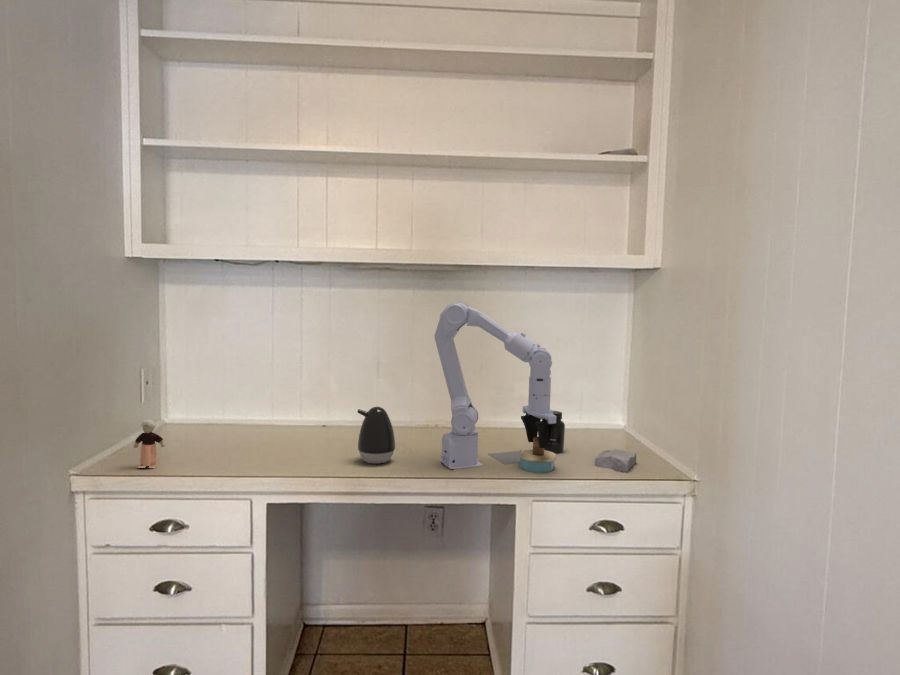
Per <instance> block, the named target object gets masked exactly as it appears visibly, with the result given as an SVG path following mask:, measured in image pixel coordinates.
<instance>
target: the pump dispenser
mask: <svg viewBox="0 0 900 675" xmlns="http://www.w3.org/2000/svg"><path fill="white" fill-rule="evenodd" d="M357 413H358V414H360V415H362V416H363V417H364V419H363V420H362V423H361V426H360V430H359V433H358V440H357V450H358V453H359V456H360V457H361V459H362V460H363V461H364V462H365V463H368V464H372V465H380V464H381V463H382V464H384V463H386V462H388V461H390V459H392V458H393V455H394V451H395V450H396V439H395V432H394V427H393V424H392V422H391V419H390V417H389V414H388V412H387V411H386V410H385V409H384V408H383V407H381V406H373V407H371V408H370V409H368V411H366V410H362V409H357Z"/></svg>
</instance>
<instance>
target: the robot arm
mask: <svg viewBox="0 0 900 675" xmlns="http://www.w3.org/2000/svg"><path fill="white" fill-rule="evenodd" d="M465 325H466V326H467V327H477V328H480V329H482V330H483V331H485V332H486V333H488V334H489V335H491V336H492V337H495V338H496V339H498V340H499V341H501V342H503V345H504V346H503V347H504V349H505V350H506V351H507V352H508V353H510V354H511V355H513V356H514V357H516V358H517V359H519V360H520V361H522V362H523V363H528V365H529V367H530V370H529V371H530V372H529V374H530V375H529V378H528V400H527V402H528V403H527V404H528V405H522V414H525V415H520V419H521V421H522V423H523V425H524V428H525V433H526V438H527V441H528V443H533V437H539V446H540V448H548V445H549V441H550V438H551V435H552V433H553V431H554V429H555V427H556V426H557V422H556V416H555V415H554V414H553V411H554V410H553V409H551V393H552V392H551V390H552V389H551V386H552V385H551V383H552V377H551V374H552V371H551V368H552V364H553V360H552V355H551V354H550V352H549V351H548V350H547V349H546V348H544V347H541V344H540V343H535V342H534V341H532V340H531V339H529V338H527V336H526V335H527V334H526V333H524V332H521V333H520V332H519V331H513V332H510V331H509V330H507V329H506V328H505V327H503V326H502V325H500V324H499V323H497V322H496V321H495V320H493V319H492V318H491V317H489V316H488V315H487V314H486V313H484V312H482V311H480V310H479V309H476V308H475V307H472V306H469V305H468V304H467V303H466V302H463V301H462V302H461V301H458V302H452V303H449V304H447V305H446V307H445V308H444V309H443V310H442V311H441V313H440V315H439V321H438V323H437V326H436V330H435V333H434V342H435V344H436V349H437V353H438V357H439V360H440V364H441V368H442V371H443V376H444V378H445V384H446V387H447V390H448V394H449V395H448V396H449V398H450V411H451V415H452V416H451V419H450V420H451V421H450V422H451V427H452V428H451V432H448V433H444V434H442V438H441V459H440V462H441V463H442V464H443V465H445V466H446V467H447V468H448V469H450V470H455V469H465V468H475V467H483V465H484V464H483V463H482V462H480V461H478V453H479V452H478V450H479V448H478V445H479V444H478V443H479V430H478V428H477V427H476V424H477V422H478V420H479V412H478V410H477V409H476V407H475V406H474V405H473V402H472V399H471V397H470V395H469V393H468V390H467V386H466V385H467V384H466V382H465V379H464V378H465V377H464V374H463V370H462V366H461V362H460V359H459V355H458V351H457V348H456V344H455V337H456V336H457V334H458V333H459V331H460V329H462V327H464V326H465Z"/></svg>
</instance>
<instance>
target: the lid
mask: <svg viewBox="0 0 900 675" xmlns="http://www.w3.org/2000/svg"><path fill="white" fill-rule="evenodd" d="M521 451H522V452H521V453H520V457H521V458H522V459H524V460H527V461H532V462H551V461H554V462H555V461H556V460H557V454H555V453H553V452H550V451H546V450H544V448H540V446H539V436H537V437H533V442H532V449H526V450H521Z"/></svg>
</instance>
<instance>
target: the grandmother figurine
mask: <svg viewBox="0 0 900 675" xmlns="http://www.w3.org/2000/svg"><path fill="white" fill-rule="evenodd" d="M141 426H142V431H143V432H142V433H140V434H139V435H138V436H137V437H136V439H135V442H134V444H133V446H132V447H133V448H134V449H137V448H138V447H139V445H140V443H141V442H142V443H141V445H140V459H139V460H140V461H139V465H138V466H155V465H157V445H156V443H158V444H159V445H160V447H161V448H165V446H166V444H165V442H164V438H162V437H161V435H159V434H157V433H155V432H153V431H154V429H156V428H157V425H156V423H155V421H153V420H152V419H151V418H149V419H144V420H143V421H142V422H141Z"/></svg>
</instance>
